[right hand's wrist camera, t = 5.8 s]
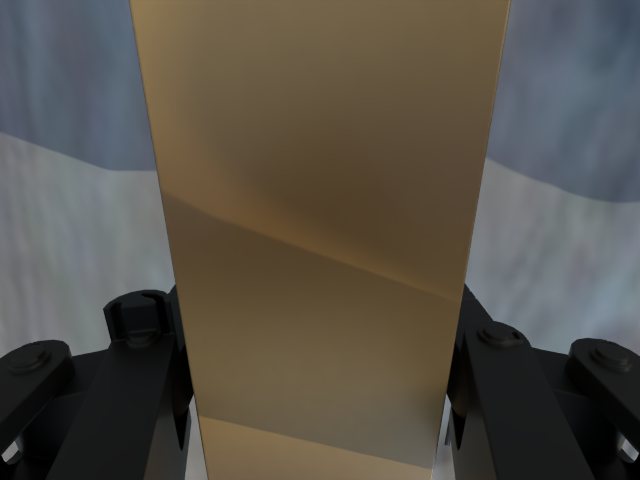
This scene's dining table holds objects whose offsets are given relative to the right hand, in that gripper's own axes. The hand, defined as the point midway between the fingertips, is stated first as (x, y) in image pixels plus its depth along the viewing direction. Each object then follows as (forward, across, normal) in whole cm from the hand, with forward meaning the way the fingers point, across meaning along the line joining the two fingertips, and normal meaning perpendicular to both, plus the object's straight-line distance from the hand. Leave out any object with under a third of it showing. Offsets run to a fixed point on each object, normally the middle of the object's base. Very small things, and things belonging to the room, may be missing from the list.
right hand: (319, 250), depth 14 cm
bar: (+1, 0, -9) cm, 9 cm away
